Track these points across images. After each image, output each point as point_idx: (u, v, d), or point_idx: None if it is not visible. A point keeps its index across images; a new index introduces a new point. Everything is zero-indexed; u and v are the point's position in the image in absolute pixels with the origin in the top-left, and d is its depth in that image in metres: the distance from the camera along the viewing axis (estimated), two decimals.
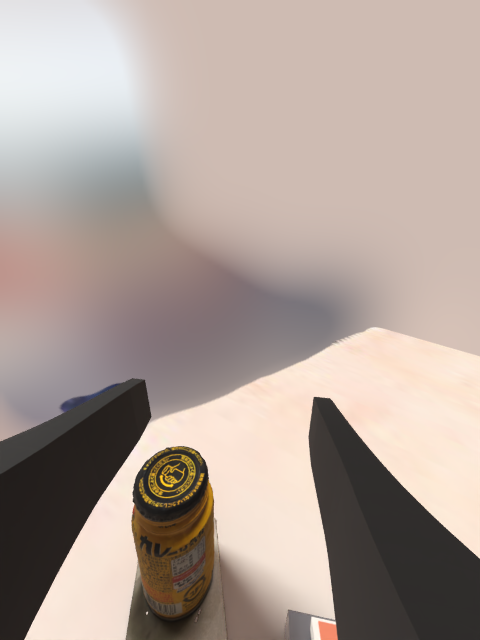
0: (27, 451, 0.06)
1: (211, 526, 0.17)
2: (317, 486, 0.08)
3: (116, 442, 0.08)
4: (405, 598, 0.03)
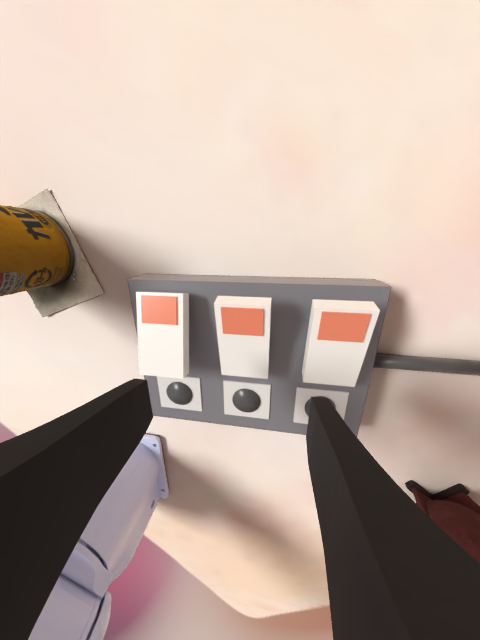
0: (30, 452, 0.06)
1: None
2: (314, 486, 0.08)
3: (118, 442, 0.08)
4: (397, 596, 0.03)
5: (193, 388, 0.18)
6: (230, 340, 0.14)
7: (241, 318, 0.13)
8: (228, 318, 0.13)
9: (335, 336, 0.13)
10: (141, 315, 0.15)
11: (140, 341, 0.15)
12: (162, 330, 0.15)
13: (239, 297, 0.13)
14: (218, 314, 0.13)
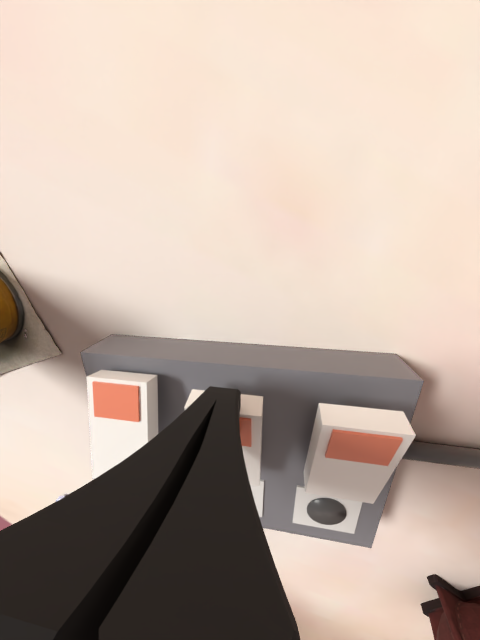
0: (158, 473, 0.05)
1: None
2: None
3: None
4: (157, 544, 0.04)
5: None
6: None
7: None
8: None
9: (351, 457, 0.09)
10: (93, 406, 0.11)
11: (93, 438, 0.12)
12: (121, 426, 0.11)
13: None
14: None
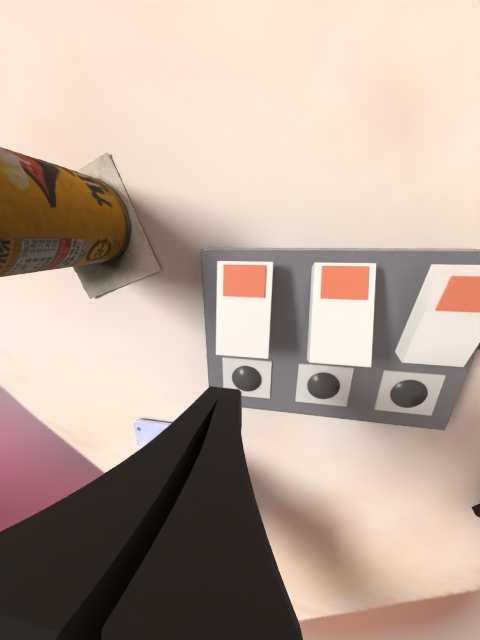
0: (160, 473, 0.05)
1: (32, 218, 0.10)
2: None
3: None
4: (159, 544, 0.04)
5: (262, 372, 0.17)
6: (327, 308, 0.13)
7: (344, 277, 0.12)
8: (329, 278, 0.12)
9: (460, 306, 0.11)
10: (222, 287, 0.13)
11: (219, 317, 0.14)
12: (246, 304, 0.13)
13: None
14: (317, 275, 0.13)
